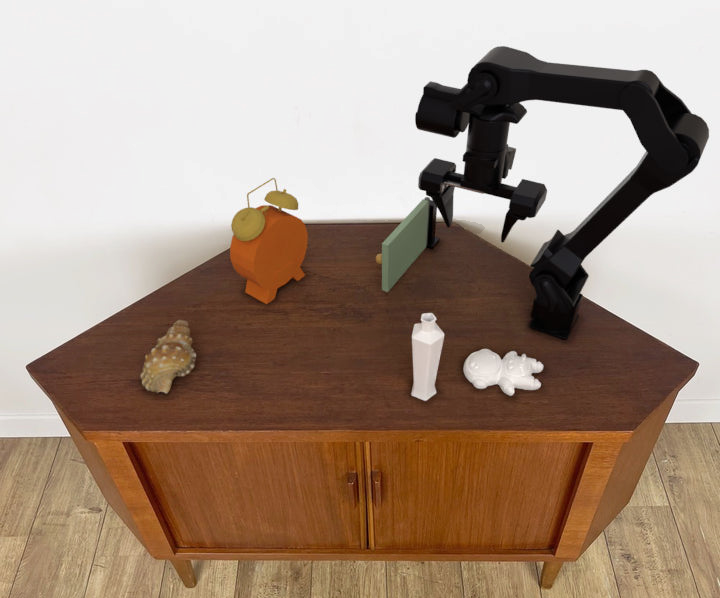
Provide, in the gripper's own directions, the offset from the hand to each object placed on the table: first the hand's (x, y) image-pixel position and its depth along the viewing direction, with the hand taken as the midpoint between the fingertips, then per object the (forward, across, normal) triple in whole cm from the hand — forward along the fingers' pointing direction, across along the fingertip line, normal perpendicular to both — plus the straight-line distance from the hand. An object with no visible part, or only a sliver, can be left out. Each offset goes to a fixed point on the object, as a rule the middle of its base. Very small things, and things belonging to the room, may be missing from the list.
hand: (475, 233), depth 107 cm
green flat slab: (+12, +14, -1) cm, 18 cm away
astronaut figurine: (+13, -12, +15) cm, 23 cm away
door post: (+13, +12, -11) cm, 21 cm away
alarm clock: (+13, +32, +12) cm, 37 cm away
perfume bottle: (+13, -2, +24) cm, 27 cm away
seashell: (+13, +35, +37) cm, 53 cm away
